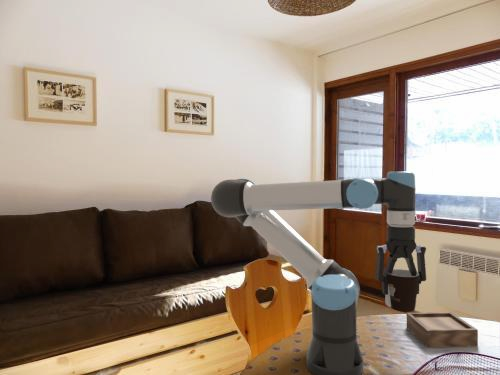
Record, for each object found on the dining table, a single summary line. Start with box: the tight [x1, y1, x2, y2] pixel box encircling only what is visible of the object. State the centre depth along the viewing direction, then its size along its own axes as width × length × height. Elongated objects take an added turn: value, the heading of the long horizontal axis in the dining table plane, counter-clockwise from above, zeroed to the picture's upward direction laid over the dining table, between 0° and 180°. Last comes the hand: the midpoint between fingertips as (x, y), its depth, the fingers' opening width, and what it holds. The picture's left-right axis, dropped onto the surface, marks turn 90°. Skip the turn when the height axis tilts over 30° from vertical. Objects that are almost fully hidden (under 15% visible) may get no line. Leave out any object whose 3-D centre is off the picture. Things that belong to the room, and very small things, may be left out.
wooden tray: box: [406, 311, 479, 348], centre depth 121 cm, size 15×15×5 cm
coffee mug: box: [387, 268, 419, 313], centre depth 110 cm, size 12×9×10 cm
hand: (400, 305), depth 110 cm, fingers closed on coffee mug, 6 cm apart
